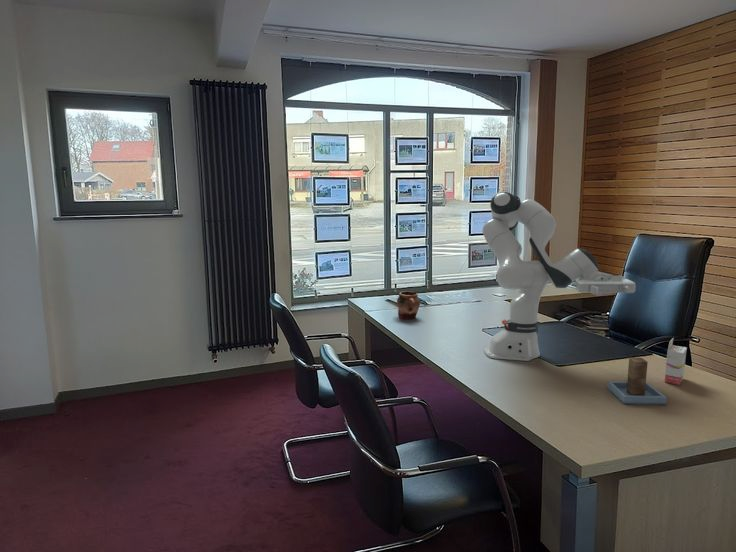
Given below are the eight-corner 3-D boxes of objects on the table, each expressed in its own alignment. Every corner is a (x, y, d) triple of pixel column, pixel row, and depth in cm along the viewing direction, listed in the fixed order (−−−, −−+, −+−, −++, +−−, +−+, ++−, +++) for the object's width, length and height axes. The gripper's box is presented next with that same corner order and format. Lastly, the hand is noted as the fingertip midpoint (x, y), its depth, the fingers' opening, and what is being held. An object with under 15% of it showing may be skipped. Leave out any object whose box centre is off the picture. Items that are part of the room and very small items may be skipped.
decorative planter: (426, 321, 263) (426, 295, 260) (404, 323, 259) (404, 297, 257) (411, 313, 281) (411, 288, 279) (391, 314, 278) (391, 290, 275)
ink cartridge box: (680, 385, 173) (684, 344, 170) (664, 382, 176) (667, 342, 174) (684, 378, 179) (688, 339, 177) (668, 375, 182) (672, 336, 180)
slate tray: (623, 404, 158) (624, 396, 158) (607, 388, 171) (607, 381, 171) (666, 404, 158) (666, 397, 157) (646, 389, 170) (647, 382, 170)
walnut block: (631, 396, 162) (634, 361, 160) (626, 392, 166) (629, 357, 164) (644, 397, 162) (647, 361, 160) (638, 392, 166) (641, 357, 164)
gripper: (570, 275, 191) (583, 281, 177) (626, 275, 189) (643, 281, 176) (570, 291, 192) (582, 299, 178) (625, 291, 190) (641, 299, 177)
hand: (613, 290), depth 177 cm, fingers open, 8 cm apart
